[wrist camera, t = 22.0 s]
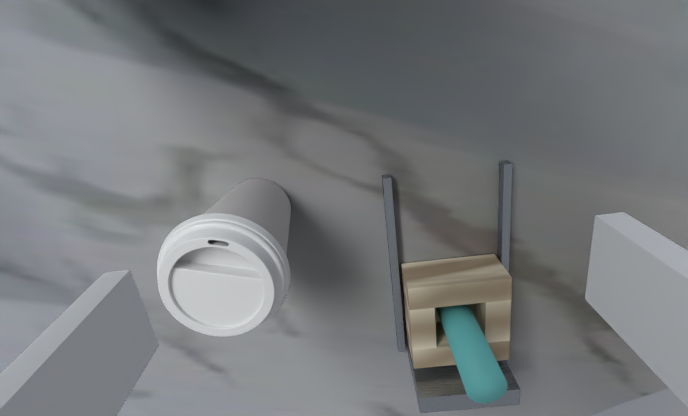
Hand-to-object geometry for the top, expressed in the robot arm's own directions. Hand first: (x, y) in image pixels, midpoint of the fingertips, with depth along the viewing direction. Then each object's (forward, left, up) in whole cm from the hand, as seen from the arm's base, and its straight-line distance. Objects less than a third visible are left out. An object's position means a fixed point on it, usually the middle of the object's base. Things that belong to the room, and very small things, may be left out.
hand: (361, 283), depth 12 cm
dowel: (+21, +9, -27) cm, 35 cm away
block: (+21, +9, -28) cm, 36 cm away
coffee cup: (+8, -10, -29) cm, 31 cm away
